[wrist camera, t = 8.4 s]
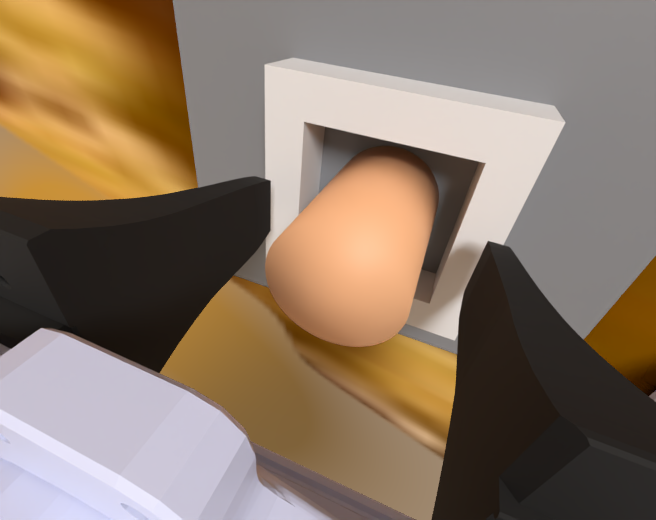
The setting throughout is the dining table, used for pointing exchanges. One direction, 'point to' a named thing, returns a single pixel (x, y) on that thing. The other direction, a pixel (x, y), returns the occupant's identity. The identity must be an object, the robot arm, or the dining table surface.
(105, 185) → the dining table surface
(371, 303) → the peach rounded egg part
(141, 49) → the dining table surface
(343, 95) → the dock board
